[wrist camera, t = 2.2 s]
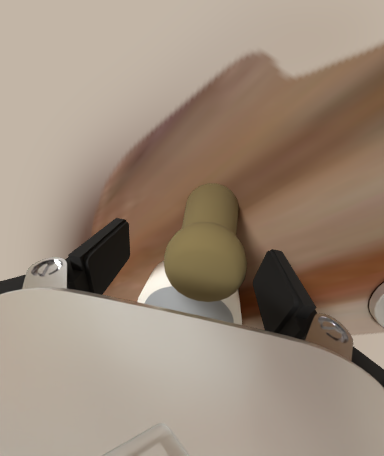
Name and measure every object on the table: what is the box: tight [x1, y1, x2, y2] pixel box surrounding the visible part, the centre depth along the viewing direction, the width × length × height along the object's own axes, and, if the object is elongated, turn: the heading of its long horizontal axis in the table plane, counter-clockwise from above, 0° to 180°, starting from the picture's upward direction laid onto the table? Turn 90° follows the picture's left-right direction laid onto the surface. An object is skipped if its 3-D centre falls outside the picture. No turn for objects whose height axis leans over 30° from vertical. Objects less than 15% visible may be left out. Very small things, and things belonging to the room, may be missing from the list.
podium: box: [137, 261, 242, 325], centre depth 23 cm, size 14×14×5 cm
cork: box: [164, 184, 247, 302], centre depth 14 cm, size 6×6×11 cm
